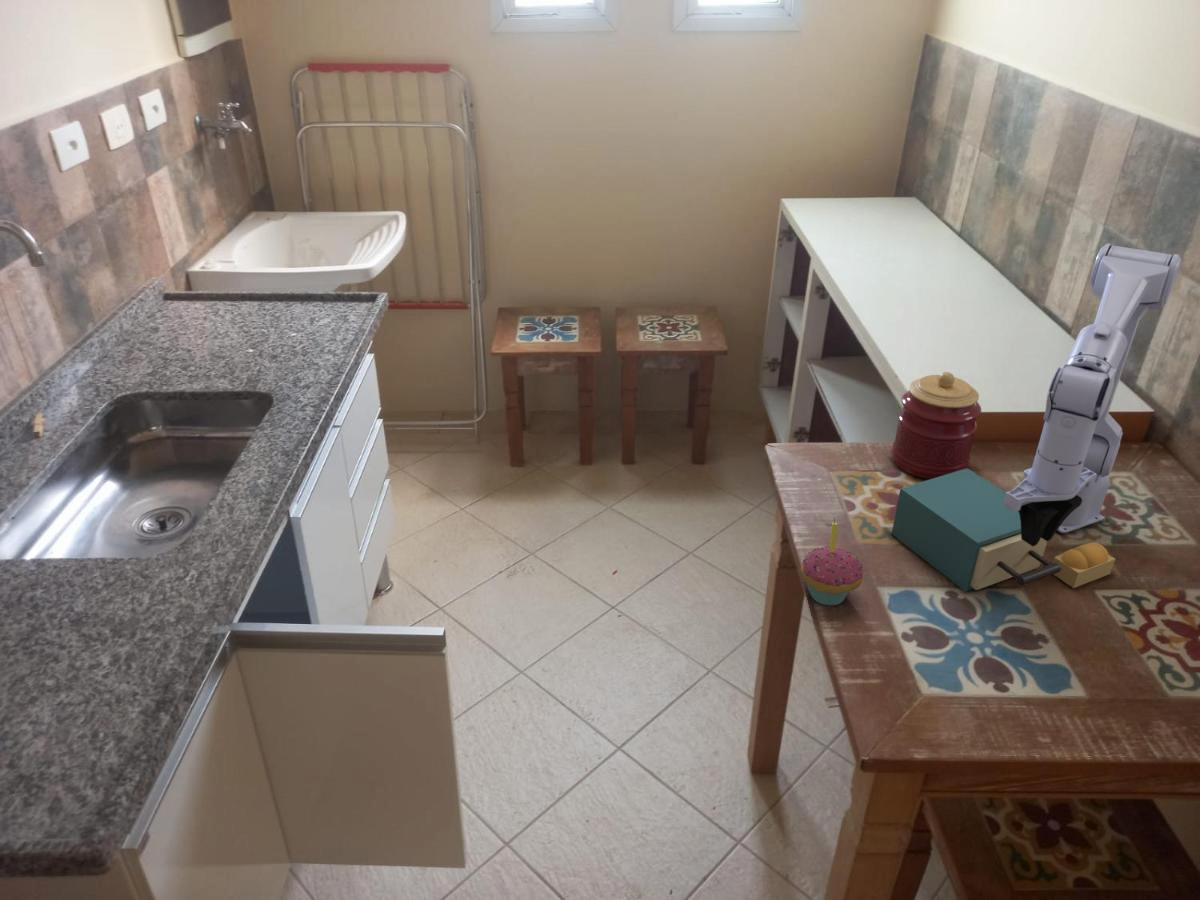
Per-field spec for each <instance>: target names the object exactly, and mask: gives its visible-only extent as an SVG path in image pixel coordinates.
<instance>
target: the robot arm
mask: <svg viewBox="0 0 1200 900" xmlns="http://www.w3.org/2000/svg"><path fill="white" fill-rule="evenodd" d="M1181 264H1182V258H1181V257H1180V254H1177V253H1174V254H1169V253H1163V252H1157V251H1150V250H1145V249H1137V248H1132V247H1125V246H1120V245H1112V243H1106V244H1105V245H1103V246H1102V247H1100V249H1099V251H1098V253H1097V256H1096V258H1095V261H1094V264H1093V267H1092V270H1091V274H1090V277H1089V284H1090V288H1091V292H1092V295H1093V297H1095V298H1096V299H1099V300H1100V303H1099V307H1098V310H1097V313H1096V316H1095V319H1094V323H1092V324H1088V325H1086V326H1084V327H1083V328H1081V330H1080V331H1079V333H1078V334H1077V336H1076V338H1075V341H1074V343H1073V345H1072V346H1071V347H1072V348H1071V350H1070V352H1069V354H1068V356H1067V358H1066V361H1065V363H1064V364H1063V367H1061V366H1058V367H1057V368H1056V370H1055V372H1054V374H1053V376H1052V378H1051V381H1050V384H1049V385H1048V386H1049V387H1048V390H1047V393H1046V400H1045V401H1046V403H1045V410H1044V414H1043V419H1042V421H1044V423H1043V427H1042V431H1041V433H1040V438H1039V442H1038V445H1037V448H1036V452H1035V455H1034V459H1033V463H1032V466H1031V467H1030V468H1027V469H1024V470H1023V472H1022V473H1023V474H1022V476H1024V477H1025V478H1024V479H1023V480H1022V481H1021V482H1020V483H1018V484H1017V485H1016V486H1015V487H1014V488H1013V489H1011V490H1009V491H1005V492H1006V495H1005V499H1004V503H1003V505H1005V506H1007V507H1008V508H1009V509H1011V510H1013V511H1014V512H1016V511H1019V515H1020V521H1021V539H1022V540H1024V541H1025V542H1027V543H1028V544H1030V545H1031V546H1035V545H1037V543H1038V542H1039V540H1040V538H1043V539H1044V540H1046V541H1047V542H1049V541H1051V540H1052V539H1053V537H1054V536H1055V535H1056V533H1057V532H1059V533H1060V534H1062V535H1063V534H1067V533H1070V532H1073V531H1076V530H1078V529H1082V528H1084V527H1086V526H1090V525H1092V524H1095V523H1098V522H1101V521H1104V519H1105V516H1103V515H1102V514H1101V511H1102V508H1103V505H1104V503H1105V499H1106V496H1107V494H1108V491H1109V488H1110V484H1111V483H1110V474H1111V472H1112V469H1113V467H1114V464H1115V461H1116V458H1117V457H1118V453H1119V450H1120V446H1121V441H1122V437H1123V435H1124V432H1123V428H1122V427H1121V425H1120V424H1119V423H1118V422H1117V421H1116V419H1115V418H1113V417H1112V415H1111V414H1110V409H1111V406H1112V403H1113V400H1114V397H1115V394H1116V392H1117V389H1118V387H1119V383H1120V380H1121V377H1122V374H1123V371H1124V368H1125V365H1126V362H1127V359H1128V356H1129V353H1130V350H1131V347H1132V344H1133V340H1134V338H1135V335H1136V331H1137V329H1138V325H1139V323H1140V321H1141V319H1142V318H1143V317H1144V316H1145V315H1146V313H1147V312H1148V311H1153V310H1162V309H1163V308H1164V306H1165V305H1166V304H1167V303H1168V300H1169V297H1170V295H1171V293H1172V291H1173V288H1174V286H1175V283H1176V279H1177V277H1178V275H1179V270H1180V268H1181Z"/></svg>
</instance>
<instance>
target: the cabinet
mask: <svg viewBox="0 0 1200 900" xmlns="http://www.w3.org/2000/svg"><path fill="white" fill-rule="evenodd" d="M1006 492H1007V491H1005V490H1004V489H1002V488H1000V487H999V486H997V485H995V484H994V483H992V482H990V481H989V480H987V479H986V478H984V477H983V476H982V475H979V474H978V473H976V472H975V471H974V470H971V469H970V468H968V467H966V469H963V470H960V471H957V472H953V473H950V474H947V475H943V476H940V477H937V478H933V479H926V480H924V481H921V482H917V483H914V484H910V485H907V486H904V487H900V489H899V493H898V498H897V504H896V509H895V514H894V519H893V523H892V528H891V529H892V530H891V535H892V536H893V537H894V538H896V540H898V541H900V542H901V543H902V544H904V545H905V546H906V547H908V549H910V550H911V551H913V553H915V554H917V556H919V557H920V558H921V559H923V560H924V561H925V562H927V563H928V564H929V565H931V566H932V567H933V568H935V569H936V570H937V571H939V572H940V573H941V574H942V575H943V576H945V577H946V578H947V579H948V580H950V581H952V583H954V584H955V585H956V586H958V587H959V588H960V589H962V590H963V592H968V591H971V590H973V589H974V588H973V587H971V586H970V584H971V580H972V576H973V573H974V569H975V565H976V561H977V557H978V553H979V550H980V547H981V546H983V545H986V544H989V543H992V542H995V541H997V540H1000V539H1003V538H1006V537H1009V536H1012V535H1015V534H1018V533H1021V521H1020V515H1019V511H1016V512H1014V511H1013V510H1011V509H1009V508H1008V507H1007V506H1005V505H1003V503H1004V499H1005V495H1006ZM974 590H975V589H974Z"/></svg>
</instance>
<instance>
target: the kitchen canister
mask: <svg viewBox="0 0 1200 900" xmlns="http://www.w3.org/2000/svg"><path fill="white" fill-rule="evenodd" d="M979 399H980V395H979V392H978V391H977V390H976V389H975V388H974V387H973V386H972V385H970V384H969V383H968V382H966V381H965V380H963V379H961V378H958V377H955V376H954V375H953V373H952V372H950V371H944V372H942V373H940V374H930V375H926V376H923V377H921V378H917V379H915V380H913V381H911V382H910V384H909V386H908V390H907V391H906V392H905V393H903V395H902V396H901V404H902V406H903V407H902V409H901V410H900V411H899V413H898V422H897V427H896V433H895V438H894V441H893V443H892V449H891V451H892V460H893V463H894V464H895V465H896V466H897V467H898V468H899V469H901V470H902V471H903V472H905V473H907V474H910V475H911V476H914V477H917V478H921V479H924V480H925V479H926V480H930V479H933V478H937V477H940V476H943V475H947V474H950V473H953V472H957V471H960V470H963V469H967V468H968V467H969V463H970V459H971V451H972V447H973V442H974V438H975V434H976V432H977V429H978V424H977V422H976V421H977V418H979V416H980V415H981V413H982V407H981V405H980V403H979V402H978V401H979Z"/></svg>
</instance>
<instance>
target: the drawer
mask: <svg viewBox="0 0 1200 900" xmlns="http://www.w3.org/2000/svg"><path fill="white" fill-rule="evenodd" d="M1047 544H1048V541H1046V540H1044V539H1043V538H1040V540H1039V542H1038V543H1037V545H1035V546H1031V545H1030V544H1028V543H1027V542H1025V541H1024V540H1022V539H1021V533H1018V534H1015V535H1012V536H1009V537H1006V538H1003V539H1000V540H997V541H995V542H992V543H989V544H986V545H983V546H981V547H980V550H979V553H978V557H977V561H976V565H975V569H974V573H973V576H972V580H971V584H970V586H971V587H973V588H974V590H975V591H979V590H981V589H985V588H986V587H989V586H992V585H994V584H997V583H1000V582H1003V581H1005V580H1008V579H1011V578H1014V579H1015V581H1016V583H1017V585H1018V586H1021V587H1023V586H1026V585H1029V584H1031V583H1033V582H1037V581H1039V580H1042V579H1044V578H1047V577H1049V576H1050V577H1051V576H1054V575H1053V574H1055V573H1058V572H1060V571H1061V567H1060V565H1059V564H1058V563H1053V562H1050V561H1049V560H1048V559H1046V558H1045V557H1043V556H1044V553H1045V551H1046V548H1047ZM1041 564H1042V565H1044V566H1041ZM1040 566H1041V567H1040Z"/></svg>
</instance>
